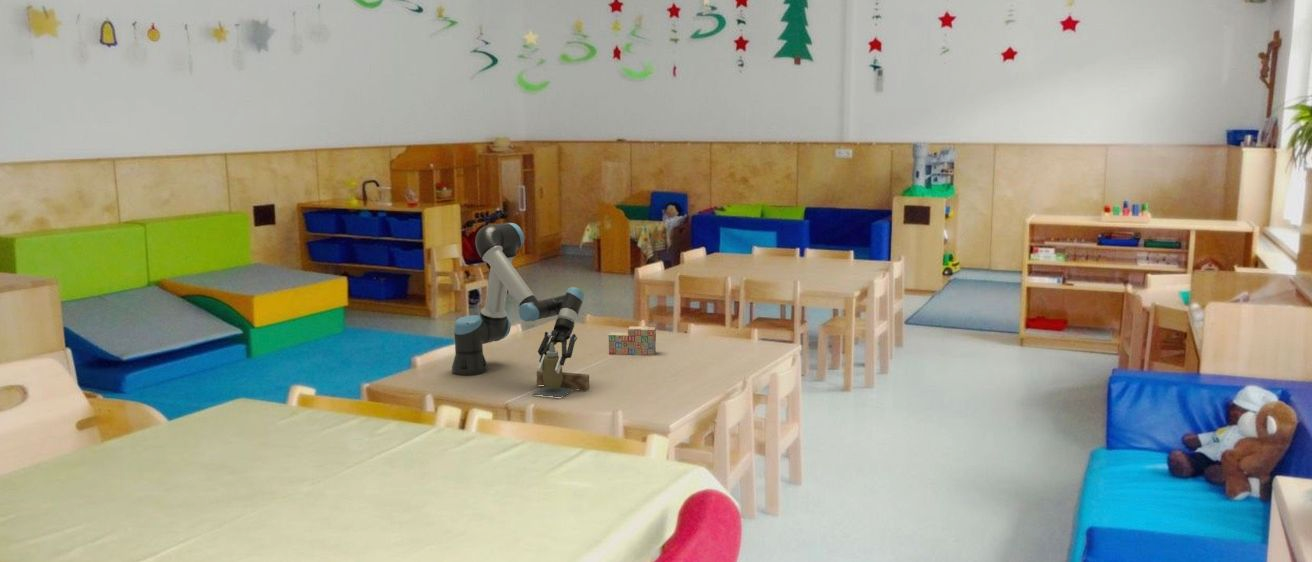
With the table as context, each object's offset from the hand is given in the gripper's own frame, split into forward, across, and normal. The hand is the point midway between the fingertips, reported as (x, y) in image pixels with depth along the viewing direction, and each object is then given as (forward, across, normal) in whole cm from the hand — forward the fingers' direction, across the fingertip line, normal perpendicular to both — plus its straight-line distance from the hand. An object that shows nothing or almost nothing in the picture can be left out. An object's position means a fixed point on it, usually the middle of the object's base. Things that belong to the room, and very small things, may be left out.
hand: (548, 370), depth 381 cm
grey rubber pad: (+5, 0, -10) cm, 11 cm away
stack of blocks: (-47, -5, -62) cm, 78 cm away
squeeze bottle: (+3, 0, -8) cm, 8 cm away
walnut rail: (-2, 0, -16) cm, 16 cm away
